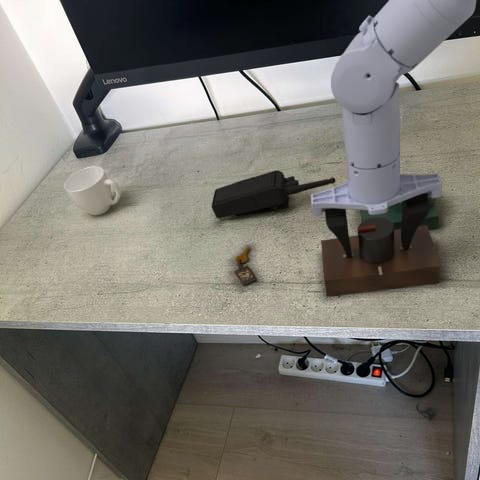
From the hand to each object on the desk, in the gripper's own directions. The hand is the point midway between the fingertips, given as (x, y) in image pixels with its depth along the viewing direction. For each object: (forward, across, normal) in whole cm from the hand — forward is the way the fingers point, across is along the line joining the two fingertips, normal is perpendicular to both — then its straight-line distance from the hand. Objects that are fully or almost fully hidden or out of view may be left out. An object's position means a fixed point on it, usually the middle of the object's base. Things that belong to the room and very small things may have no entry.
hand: (376, 248), depth 63 cm
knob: (+1, 0, 0) cm, 1 cm away
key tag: (+4, -18, +4) cm, 19 cm away
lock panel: (+4, 0, 0) cm, 4 cm away
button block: (+4, +4, +11) cm, 12 cm away
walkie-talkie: (+4, -14, +18) cm, 23 cm away
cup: (+4, -47, +26) cm, 54 cm away
